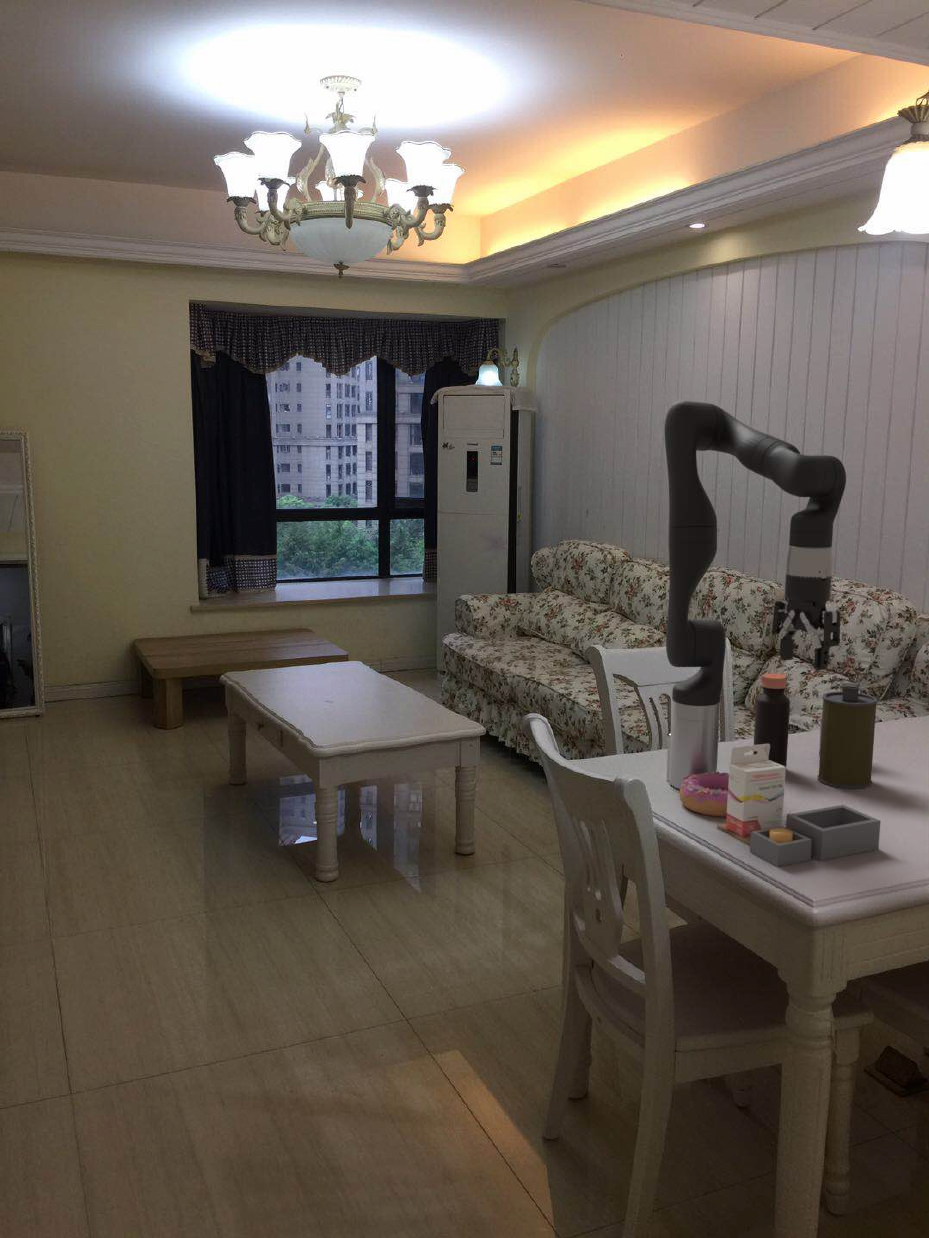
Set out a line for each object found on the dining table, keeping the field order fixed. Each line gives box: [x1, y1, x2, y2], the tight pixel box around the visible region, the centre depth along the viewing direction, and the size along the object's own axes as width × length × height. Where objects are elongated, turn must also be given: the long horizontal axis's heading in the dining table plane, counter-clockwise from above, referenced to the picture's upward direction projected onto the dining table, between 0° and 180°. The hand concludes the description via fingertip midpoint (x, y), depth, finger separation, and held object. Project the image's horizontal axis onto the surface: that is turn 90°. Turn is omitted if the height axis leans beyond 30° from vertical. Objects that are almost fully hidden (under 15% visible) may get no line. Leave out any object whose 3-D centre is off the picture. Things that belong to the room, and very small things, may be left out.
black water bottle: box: [752, 673, 791, 768], centre depth 215 cm, size 7×7×20 cm
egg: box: [769, 828, 793, 843], centre depth 170 cm, size 4×4×4 cm
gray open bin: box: [785, 804, 881, 862], centre depth 174 cm, size 8×12×5 cm
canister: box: [817, 682, 879, 790], centre depth 208 cm, size 11×10×20 cm
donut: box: [679, 771, 729, 818], centre depth 194 cm, size 14×14×5 cm
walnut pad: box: [716, 822, 751, 846], centre depth 181 cm, size 9×9×1 cm
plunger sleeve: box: [749, 825, 812, 868], centre depth 170 cm, size 7×7×4 cm
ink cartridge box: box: [725, 744, 787, 837], centre depth 179 cm, size 9×5×15 cm, turn 113°
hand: (803, 664), depth 181 cm, fingers open, 8 cm apart
